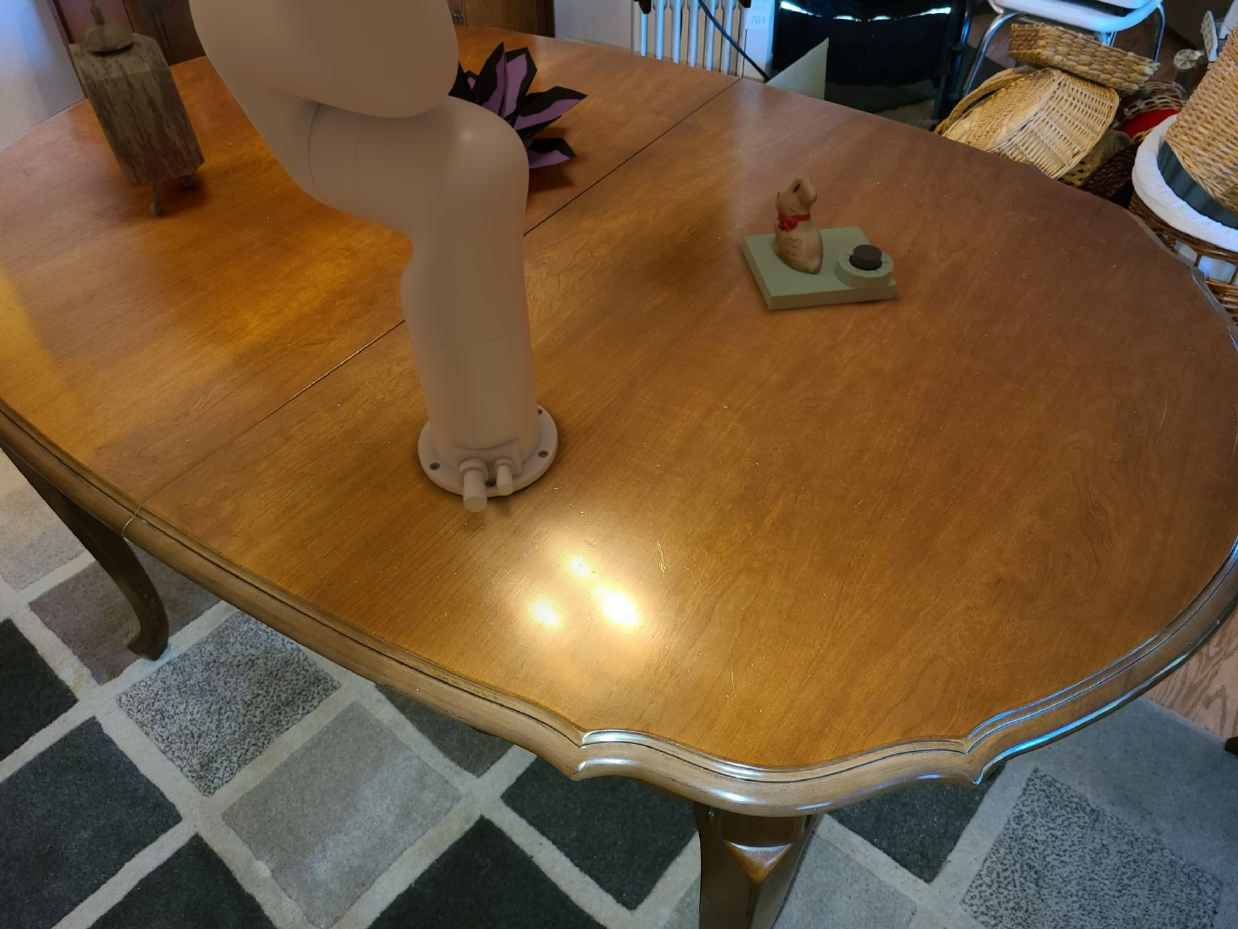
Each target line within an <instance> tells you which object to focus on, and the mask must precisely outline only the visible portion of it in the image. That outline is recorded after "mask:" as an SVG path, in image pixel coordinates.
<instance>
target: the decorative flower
mask: <svg viewBox="0 0 1238 929" xmlns="http://www.w3.org/2000/svg"><path fill="white" fill-rule="evenodd" d="M537 72H538V67H537V65H536V64H535V61H534V59H533V57H532V54H531V52H530V50H529V47H528V46H523V47H521V48H516V49H511V50H509V51H506V50H505V44H504V40H503V41H501V42H500V43H499V44H498V45H497V46H496V47H495V48H494V49H493V50H492V52H491V53H490V55H489V56H488V57H487V58H486V60H485V62H484V64H483V66H482V68H481V70H480V72H479V73H478V74H477V73H475V72H473V71H472V70H470V69H468V70H467V71H466V72H465V70H464V68H463V66H462V64H461V62H460V59H458V70H457V76H456V79H455V82H454V85H453V87H452V89H451V90H450V92H449V93H448V96H452V97H456V98H459V99H463V100H466V101H468V102H471V103H474V104H477V105H479V106H481V107H483V108H485V109H488V110H490V111H491V112H493V113H495V114H496V115H498V116H499V117H501V118H502V119H503V120H505V121H506V122H507V123H508V124H509V125H510V126H511V127H512V128H513V129H514V130H515V131H516V133H517V134H518V136H519V137H520V139H521V141H522V143H523V145H524V147H525V150H526V153H527V157H528V163H529V171H535V170H539V169H542V168H546V167H551V166H554V165H557V164H560V163H563V162H565V161H568V160H571V159H573V158H577V155H576V153H575V151H574V150H573V149H572V148H573V147H571V146H570V144H569V143H568V142H567V141H566V140H565V139H564V138H563V137H534V136H536V135H537V134H539V133H540V132H542V131H543V130H545V129H546V128H548V127H549V126H551V125H552V124H553V123H554V122H556V121H558V120H559V119H560V118H562V116H563V114H564V113H566V112H568V111H570V110H571V109H573V107H575V106H576V105H578V104H579V103H581V102H582V101H583V100H584V99H586V98H587V97H589V94H586V93H583V92H580V91H578V90H575V89H572V88H569V87H565V86H564V87H563V86H559V85H555V86H553V87H551V88H549V89H547V90H545V91H535V92H529V90H530V88H531V86H532V83H533V82H534V79H535V77H536V76H537Z"/></svg>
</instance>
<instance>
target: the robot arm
mask: <svg viewBox="0 0 1238 929" xmlns="http://www.w3.org/2000/svg"><path fill="white" fill-rule="evenodd" d="M737 1H738V3H739V4H740V5H741V7H742V8H743V9H751V8H752V0H737ZM633 2H634V3H638V6H639V8H640V10H641V12H642V14H643V15H650V13H652V0H633ZM188 4H189V5H188V6H189V9H190V14H191V15H190V16H191V19H192V21H193V22H192V23H193V26H194V29H195V31H196V34H197V38H198V40H199V42H200V44H201V46H202V49H203V51H204V54H206V56H207V58H208V60H209V62H210V63H211V66H212V67H213V68H214V70H215V72H216V73H217V74H218V76H219V78H220V79H221V81H222V82H223V83H224V85H225V87H226V88H227V89H228V91H229V92H230V94H231V95H232V97H233V98H234V100H235V101H236V103H237V104H238V105H239V107H240V108H241V109H242V111H243V113H244V114H245V115H246V117H247V118H248V120H249V121H250V122H251V124H252V125H253V127H254V128H255V129H256V131H257V133H258V134H259V135H260V138H262V140H263V141H264V143H265V144H266V146H267V148H268V149H269V151H271V153H272V155H273V156H274V157H275V159H276V160H277V161H278V163H279V164H280V165H281V167H282V168H283V170H284V171H285V173H286V174H287V175H288V176H289V177H290V179H291V180H292V181H293V182H294V183H295V184H296V186H298V187H299V188H300V189H301V190H302V191H303V192H304V193H305V194H307V195H308V196H309V197H310V198H312V199H313V200H315V201H316V202H319V203H320V204H321V205H324V206H326V207H329V208H330V209H333V210H337V211H338V212H341V213H344V214H347V215H350V216H353V217H356V218H359V219H362V220H364V221H368V222H371V223H373V224H377V225H379V226H381V227H383V228H385V229H388V230H391V231H393V232H395V233H398V234H400V235H402V236H403V237H405V238H406V239H407V240H408V241H409V243H410V244H411V247H412V255H411V257H410V258H409V260H408V262H407V263H406V265H405V267H404V269H403V270H402V273H401V277H400V280H399V298H400V304H401V310H402V314H403V317H404V321H405V325H406V328H407V332H408V337H409V341H410V342H409V343H410V345H411V350H412V354H413V359H414V363H415V367H416V371H417V376H418V380H419V385H420V389H421V392H422V397H423V401H424V405H425V410H426V414H427V419H428V420H427V421H426V422H425V423H424V426H423V427H422V430H420V434H419V437H418V441H417V453H418V458H419V463H420V465H421V467H422V470H423V472H424V473H425V474H426V476H427V477H428V479H430V481H432V482H433V483H434V484H436V485H437V486H438V487H440V488H441V489H443V490H445V491H447V492H449V493H453V494H456V495H459V496H462V498H463V499H462V501H463V502H462V503H463V508H464V509H465V510H466V511H467V512H471V513H478V512H482V511H484V510H485V509H486V508H487V506H488V498H493V497H499V496H506V497H507V496H509V495H511V494H512V493H514V492H517V491H520V490H522V489H524V488H526V487H528V486H529V485H531V484H532V483H534V482H536V481H537V480H539V478H541V477H542V476H543V475H544V474H545V473H546V472H547V471H548V469H549V468H550V467H551V465H552V464H553V463H554V461H555V457H556V455H557V452H558V448H559V446H558V445H559V436H558V429H557V426H556V422H555V420H554V419H553V417H552V416H551V414H550V412H548V411H547V410H546V409H545V408H544V407H543V406H542V405H541V404H538V396H537V387H536V386H537V385H536V376H535V366H534V357H533V356H534V355H533V346H532V337H531V336H532V335H531V326H530V317H529V305H528V299H527V290H526V288H527V287H526V278H525V265H524V264H525V263H524V262H525V260H524V232H525V220H526V210H527V202H528V194H529V185H530V184H529V183H530V170H529V163H528V157H527V153H526V150H525V147H524V145H523V143H522V141H521V139H520V137H519V136H518V134H517V133H516V131H515V130H514V129H513V128H512V127H511V126H510V125H509V124H508V123H507V122H506V121H505V120H503V119H502V118H501V117H499V116H498V115H496V114H495V113H493V112H491V111H490V110H488V109H485V108H483V107H481V106H479V105H477V104H474V103H471V102H468V101H466V100H463V99H459V98H456V97H452V96H448V93H449V92H450V90H451V89H452V87H453V85H454V82H455V79H456V76H457V70H458V60H459V43H458V38H457V34H456V33H457V32H456V29H455V24H454V22H453V17H452V14H451V11H450V7H449V4H448V2H447V0H188Z"/></svg>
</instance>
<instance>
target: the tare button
mask: <svg viewBox="0 0 1238 929" xmlns="http://www.w3.org/2000/svg"><path fill="white" fill-rule="evenodd" d="M881 251H882V250H881V249H880V248H879V247H877V246H875V245H872V244H871V245H867V244H864V245H859V246H857V247H855V248H854V251H853V255H852V260H851V264H852V266H854V267H855V268H857V269H860V270H864V271H873V270H877V269H878V267H879V264H880V261H881V257H882V252H883V251H882V252H881Z"/></svg>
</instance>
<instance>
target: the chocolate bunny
mask: <svg viewBox="0 0 1238 929" xmlns="http://www.w3.org/2000/svg"><path fill="white" fill-rule="evenodd" d="M817 200H818V191H817V188H816V187H815V184H814V182H813V179H812V176H811V174H810V173H809V172H806V173H803V174H799V175H798V177H796V178H795V179H794V180H793V181H792V182H790V183H787V184H786V185H784V186H783V187H781V188H779V190H778V191H777V196H776V200H775V208H776V211H777V214H778V215H777V218H776V219H775V221H774V224H773V231H774V233H775V234H776V237H775V239H774V242H773V245H774V251H775V253H776V255H777V256H778V257H779V258H780V259H781V261H783V262H784V263H785V264H787V265H788V266H789V267H791V268H793V269H795V270H798V271H804V272H807V273H813V274H817V273H818V272H819V269H820V267H821V264H822V260H823V242H822V238H821V234H820V231H819V230H820V228H819V226H818V225H817V223H816V222H815V221H814V219H813V218H812V216H811V208H812V206H813V205H814V204H815V203H816V201H817Z"/></svg>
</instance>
